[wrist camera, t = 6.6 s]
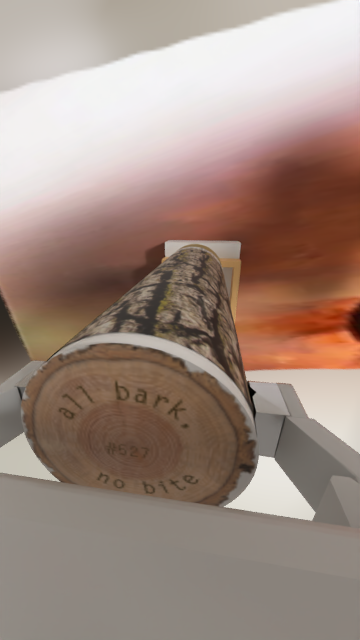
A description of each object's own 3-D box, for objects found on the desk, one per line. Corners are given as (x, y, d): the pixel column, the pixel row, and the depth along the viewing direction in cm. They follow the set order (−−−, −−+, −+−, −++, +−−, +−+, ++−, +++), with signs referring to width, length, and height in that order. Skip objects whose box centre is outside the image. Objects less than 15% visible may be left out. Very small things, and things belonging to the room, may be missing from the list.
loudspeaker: (238, 240, 43) (243, 245, 36) (229, 327, 50) (232, 345, 43) (169, 240, 45) (161, 243, 37) (171, 324, 52) (164, 341, 45)
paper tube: (169, 241, 28) (-10, 327, 5) (225, 244, 28) (287, 359, 5) (168, 294, 31) (44, 499, 8) (218, 298, 30) (238, 535, 8)
